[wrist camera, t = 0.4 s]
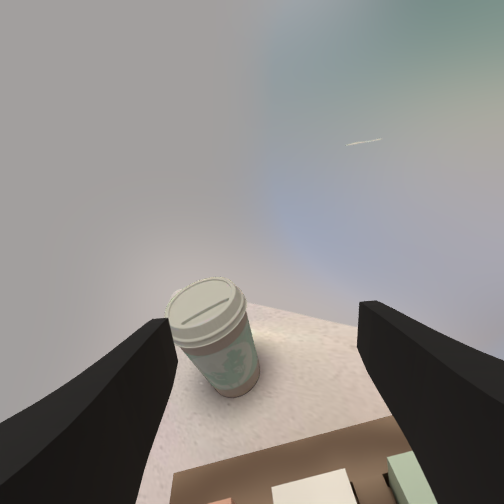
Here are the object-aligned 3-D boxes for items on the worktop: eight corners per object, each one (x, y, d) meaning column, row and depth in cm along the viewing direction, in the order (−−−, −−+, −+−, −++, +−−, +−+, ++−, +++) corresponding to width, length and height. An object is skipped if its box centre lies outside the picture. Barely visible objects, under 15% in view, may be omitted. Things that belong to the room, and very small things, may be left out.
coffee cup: (194, 412, 29) (143, 338, 23) (212, 348, 36) (177, 280, 31) (269, 408, 27) (232, 326, 21) (272, 342, 34) (246, 267, 29)
